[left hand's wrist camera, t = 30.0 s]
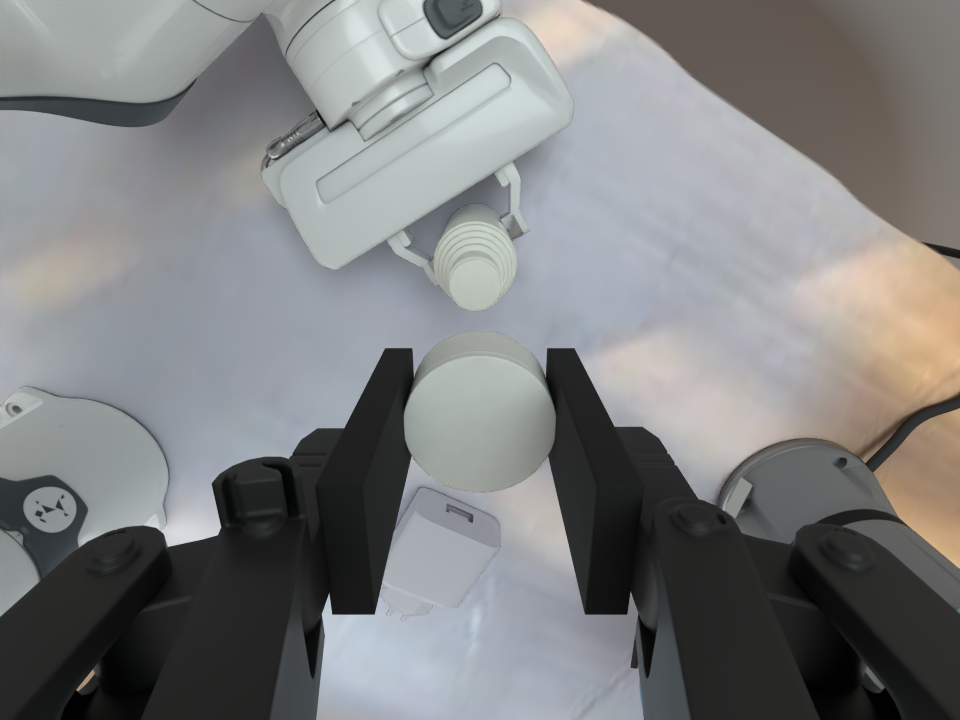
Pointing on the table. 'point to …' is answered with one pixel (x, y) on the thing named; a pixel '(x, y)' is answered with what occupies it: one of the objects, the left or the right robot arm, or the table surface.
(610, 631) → the table surface
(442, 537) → the charger
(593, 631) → the table surface
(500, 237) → the bottle
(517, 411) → the cap
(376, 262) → the table surface
